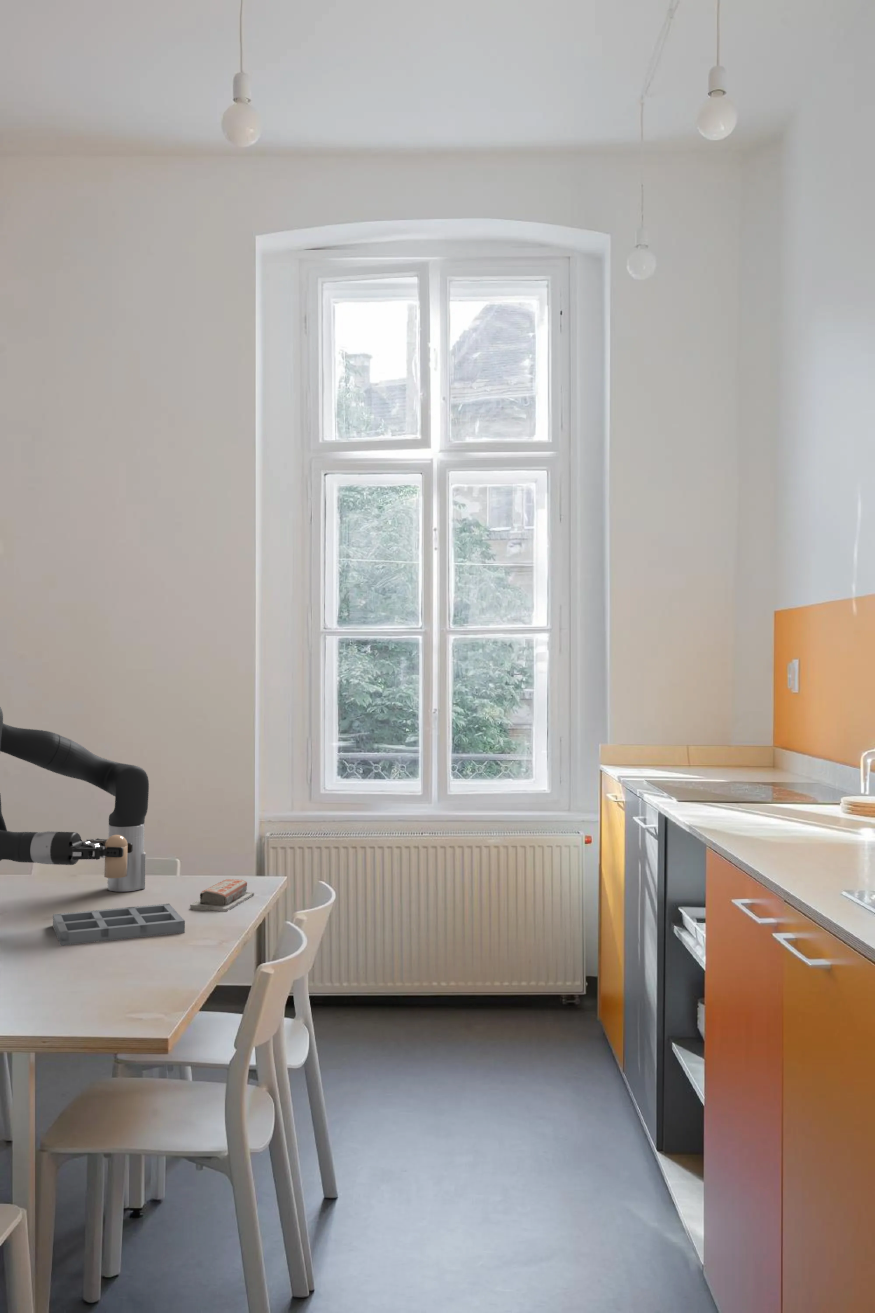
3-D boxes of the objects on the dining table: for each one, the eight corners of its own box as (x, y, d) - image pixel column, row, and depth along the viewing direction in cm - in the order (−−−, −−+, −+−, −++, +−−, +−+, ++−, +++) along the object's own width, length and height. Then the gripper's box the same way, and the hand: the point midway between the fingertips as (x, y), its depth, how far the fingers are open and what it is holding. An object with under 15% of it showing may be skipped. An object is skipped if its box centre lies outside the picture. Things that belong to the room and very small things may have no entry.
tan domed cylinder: (125, 873, 230) (126, 832, 230) (128, 877, 225) (129, 835, 226) (102, 874, 228) (103, 833, 228) (105, 879, 223) (106, 837, 223)
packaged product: (219, 877, 260) (254, 878, 258) (218, 895, 260) (254, 897, 258) (189, 891, 242) (227, 893, 240) (189, 911, 242) (227, 913, 240)
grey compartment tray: (168, 914, 237) (169, 903, 237) (184, 932, 221) (184, 920, 221) (52, 925, 225) (53, 914, 225) (60, 945, 209) (60, 933, 209)
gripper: (42, 836, 221) (115, 839, 219) (70, 827, 235) (139, 829, 234) (41, 870, 220) (115, 872, 219) (69, 858, 235) (138, 860, 234)
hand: (127, 850), depth 227 cm, fingers closed on tan domed cylinder, 5 cm apart
